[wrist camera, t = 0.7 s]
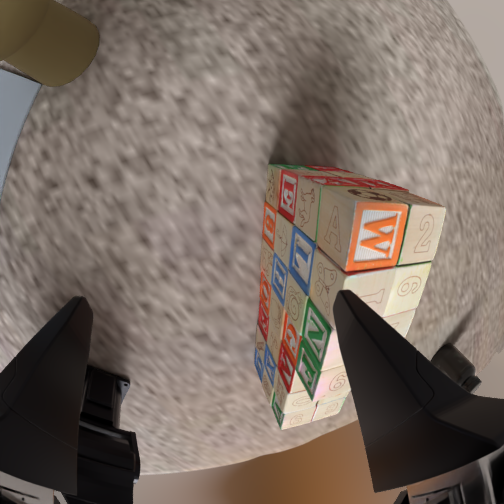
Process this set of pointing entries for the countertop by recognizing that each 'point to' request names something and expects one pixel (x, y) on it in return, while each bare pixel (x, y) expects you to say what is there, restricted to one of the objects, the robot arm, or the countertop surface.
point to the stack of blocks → (332, 276)
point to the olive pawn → (46, 40)
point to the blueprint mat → (13, 114)
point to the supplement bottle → (456, 367)
